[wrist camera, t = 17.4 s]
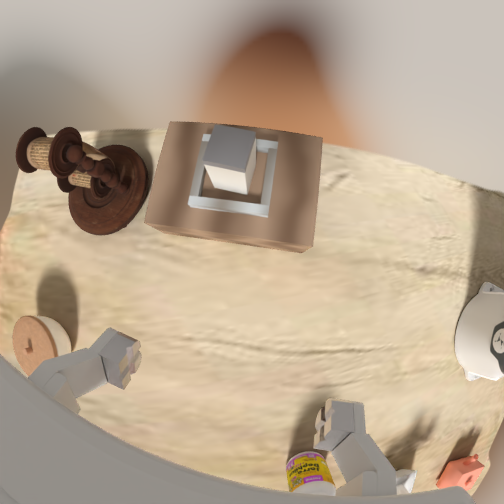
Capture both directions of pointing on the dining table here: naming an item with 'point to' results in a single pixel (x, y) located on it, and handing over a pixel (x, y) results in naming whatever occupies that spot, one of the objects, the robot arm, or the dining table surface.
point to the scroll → (88, 177)
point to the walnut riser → (235, 204)
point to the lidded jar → (38, 341)
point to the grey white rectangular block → (231, 158)
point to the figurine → (405, 480)
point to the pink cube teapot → (461, 473)
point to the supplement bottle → (309, 474)
